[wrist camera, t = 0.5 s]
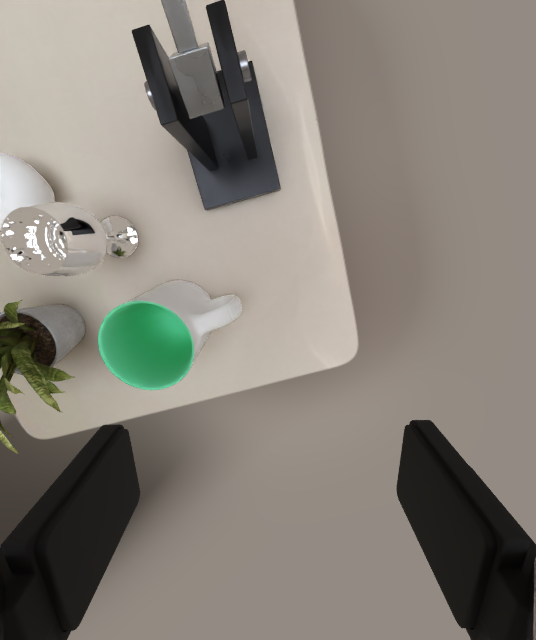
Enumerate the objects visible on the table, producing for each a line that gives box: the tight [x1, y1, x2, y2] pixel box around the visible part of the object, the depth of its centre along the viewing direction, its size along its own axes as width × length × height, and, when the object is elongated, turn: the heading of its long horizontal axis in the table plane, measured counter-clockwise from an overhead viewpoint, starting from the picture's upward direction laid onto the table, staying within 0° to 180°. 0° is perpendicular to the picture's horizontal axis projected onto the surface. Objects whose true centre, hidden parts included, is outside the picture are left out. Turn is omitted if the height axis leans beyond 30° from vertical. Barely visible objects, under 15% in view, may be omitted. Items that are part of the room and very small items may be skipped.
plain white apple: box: [0, 153, 56, 232], centre depth 28 cm, size 7×7×8 cm
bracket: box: [132, 0, 280, 210], centre depth 23 cm, size 11×8×15 cm
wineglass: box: [1, 202, 138, 276], centre depth 27 cm, size 6×6×12 cm
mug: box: [98, 280, 242, 390], centre depth 30 cm, size 12×8×10 cm, turn 112°
